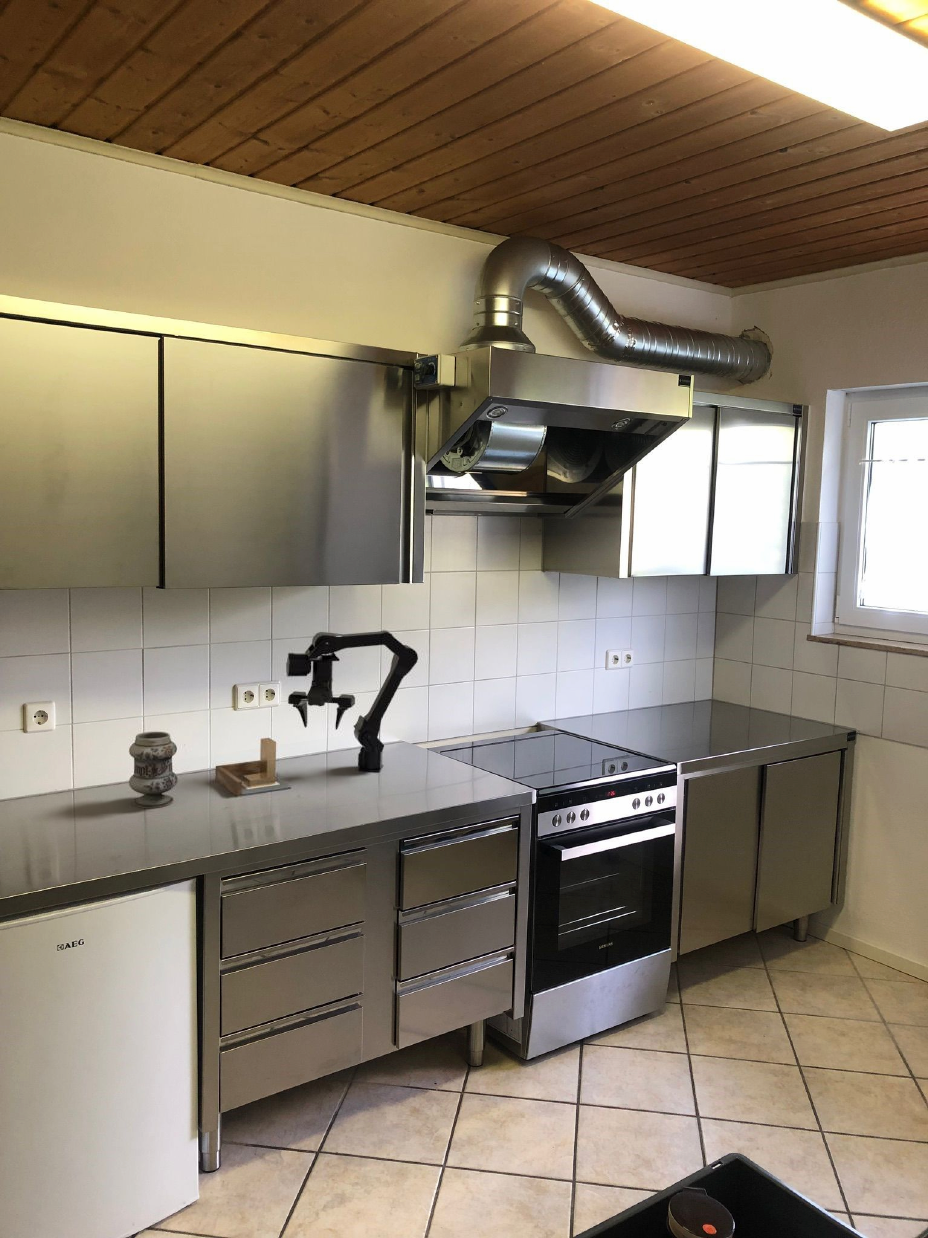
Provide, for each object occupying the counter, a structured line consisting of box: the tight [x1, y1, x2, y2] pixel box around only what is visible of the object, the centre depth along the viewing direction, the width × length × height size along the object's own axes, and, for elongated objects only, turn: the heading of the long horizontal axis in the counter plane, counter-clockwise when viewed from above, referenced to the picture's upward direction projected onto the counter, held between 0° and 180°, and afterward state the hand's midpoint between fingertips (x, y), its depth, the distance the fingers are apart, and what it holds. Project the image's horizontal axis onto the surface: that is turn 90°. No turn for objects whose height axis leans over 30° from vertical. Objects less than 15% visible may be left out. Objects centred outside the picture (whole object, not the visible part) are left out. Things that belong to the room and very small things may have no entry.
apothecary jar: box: [128, 731, 178, 809], centre depth 249 cm, size 12×12×18 cm
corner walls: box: [215, 759, 260, 797], centre depth 268 cm, size 15×17×4 cm
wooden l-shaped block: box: [243, 737, 277, 787], centre depth 267 cm, size 8×5×12 cm, turn 124°
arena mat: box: [237, 776, 292, 797], centre depth 268 cm, size 14×16×1 cm
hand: (321, 728), depth 282 cm, fingers open, 9 cm apart
